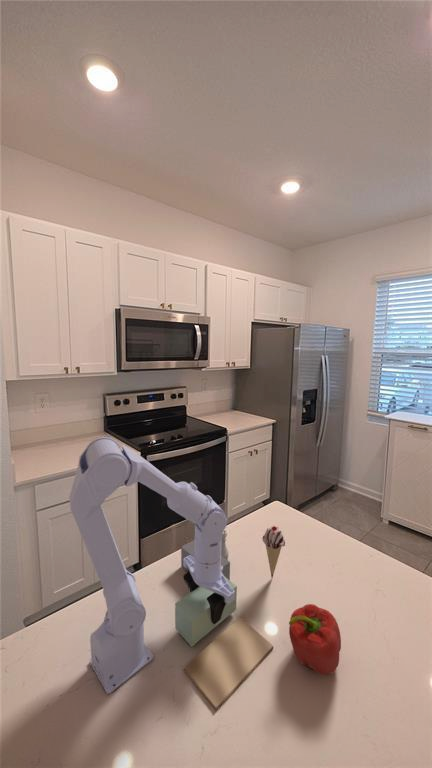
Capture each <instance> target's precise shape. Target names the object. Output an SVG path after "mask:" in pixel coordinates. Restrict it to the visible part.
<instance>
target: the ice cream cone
mask: <svg viewBox="0 0 432 768" xmlns="http://www.w3.org/2000/svg"><path fill="white" fill-rule="evenodd" d="M262 542H263V543H264V544H265V549H266V553H267V559H268V560H267V561H268V565H269V570H270V576H271V579H273V577H274V574H275V569H276V567H277V565H278V561H279V557H280V554H281V549H282V547H285V546H286V539H285V537H284V535H283V533H282V531H281V529H279V527H277V526H275V525H273V526H271V527H268V528H266V531H265V533H264V535H263V536H262Z"/></svg>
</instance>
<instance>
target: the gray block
mask: <svg viewBox="0 0 432 768" xmlns="http://www.w3.org/2000/svg"><path fill="white" fill-rule="evenodd" d="M180 548H181V549H180V551H181V552H180V553H181V554H180V555H181V557H180V559H181V561H180V562H181V563H180V566H181V568H182V569H183V570H184V571H186V573H187V572H188V568H185V567H184V566H183V559H184V558H185V557H187V556H189V555H191V556H192V557H194V555H195V538H193V540H191V541H190V542H188V543H186V544H184V545H182V546H180ZM221 566H222V567H223V571H222V574H223V575H224V576H225V577H226V578H227V579H228V580H230V579H231V578H230V577H231V561H229V560H228V558H227V559H225V558H224V557H222V556H221ZM230 581H231V580H230Z"/></svg>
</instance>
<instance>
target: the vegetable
mask: <svg viewBox="0 0 432 768" xmlns="http://www.w3.org/2000/svg"><path fill="white" fill-rule="evenodd" d="M289 619H290V620H289V622H288V625H289V628H288V629H289V630H288V635H289V638H290V643H291V646H292V649H293V653H294V654H295V655H294V656H295V657H296V659H297V660H298V662H299V663H301V664H302V665H303V666H305V667H306V666H307V667H308V666H309V667H310V668H311V669H312V671H313V670H314V671H315V672H316V673H317V674H320V675H329V674H333V673H334V672H335V671H336V670H337V668H338V667H339V663H340V652H341V650H342V649H341V648H342V638H341V631H340V627H339V624H338V621H337V619H336V618H335V617H334V615H333V614H332V612H330V611H329V610H327V609H325V608H322V607H319V606H317V605H316V604H312V603H307V604H305V605H303V606H301V607H299V608H297V609H295V610H294V611H293V612H292V614H291V616H290V618H289Z"/></svg>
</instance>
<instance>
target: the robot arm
mask: <svg viewBox="0 0 432 768" xmlns="http://www.w3.org/2000/svg"><path fill="white" fill-rule="evenodd" d="M120 446H121V447H120ZM121 448H122V450H121ZM74 475H75V476H74V478H73V479H74V480H73V483H72V486H71V490H70V492H69V505H70V510H71V513H72V516H73V518H74V520H75V523H76V525H77V527H78V530H79V532H80V536H81V537H82V541H83V542H84V545H85V547H86V550H87V552H88V555H89V557H90V560H91V561H92V564H93V567H94V570H95V572H96V574H97V578H98V579H99V582H100V584H101V587H102V589H103V590H102V594H103V597H104V599H105V604H106V612H105V616H104V618H103V619H104V620H103V621H102V623H101V624H100V625H99V627H98V628H97V629H96V630H94V631H93V632H91V634H90V637H89V640H90V642H89V643H90V657H91V658H90V659H89V663H90V665H91V667H92V668H93V670H94V673H95V675H96V676H97V678H98V680H99V682H100V683H102V684H101V685H102V687H103V689H104V691H105V693H106V694H108V693H109V694H112V692H114V690H115V691H116V689H117V688H118V687H120V686H121V685H122V684H123V683H125V682H126V681H128V679H130V678H131V677H133V676H134V675H135V674H136V673H138V672H139V671H140V670H142V668H143V667H145V666H146V665H148V664H149V663H150V662H151V661H152V660H154V655H153V653H152V652H151V651H150V650H149V648H148V647H147V645H146V644H145V634H144V633H145V628H144V627H145V625H144V622H145V620H146V616H147V612H146V611H147V610H146V607H145V606H144V604H143V601H142V598H141V595H140V592H139V590H138V587H137V583H136V578H135V576H134V574H133V573H131V572H130V571H128V570H127V568H126V566H125V564H124V562H123V559H122V556H121V554H120V551H119V549H118V546H117V542H116V540H115V537H114V535H113V532H112V530H111V527H110V525H109V522H108V519H107V517H106V513H105V512H104V508H103V506H102V505H103V504H104V501H106V499H107V498H109V497H110V496H111V495H112V494H113V493H114V492H115V491H117V490H118V489H119V488H120V487H121V486H122V485H123V484H124V486H125V487H131V485H134V484H136V483H140V484H142V485H143V486H145V487H147V488H149V489H150V490H152V491H154V492H156V493H157V494H159V495H160V496H162V497H164V498H166V503H167V507H168V508H169V509H170V510H172V511H174V512H175V514H178V515H179V516H181V517H183V518H184V519H186V520H187V521H189V522H190V523H192V524H194V539H195V555H194V557H192V556H191V555H189V556H187V557H185V558H184V559H183V566H184V567H185V568H188V572H187V571H186V573H185V574H184V575H183V581H185V584H186V586H187V588H188V590H189V593H191V592H192V591H194V590H195V589H196V588H198V587H199V586H200V587H203V588H205V589H208V590H210V591H212V592H214V593H213V594H211V595H210V596H209V597H207V601H208V603H209V605H210V610H211V621H212V623H213V624H216V623H217V622H218V621H219V620H220V619H221V616H222V613H223V610H224V607H225V605H226V604H228V605H229V604H230V603H231V602H232V601H233V600H235V591H234V590H233V589H232V588H231V587H230V585H229V584H228V582H227V580H226V579H225V577H224V575H223V574H222V571H223V567H222V566H221V544H222V533H223V531H224V530H226V527H228V526H227V525H228V522H229V519H228V518H227V515H226V513H225V511H224V509H222V508H221V507H220V505H218V504H217V503H216V502H215V500H213V498H212V497H211V496H210V495H208V494H207V495H205V494H204V493H202V492H200V491H199V490H198V486H197V485H196V484H195V483H193V482H192V481H191V482H189V483H188V482H187V481H179V482H175V481H174V480H173V479H171V478H170V477H169V476H167V475H166V474H165V473H163V472H162V471H161V470H159V469H158V468H157V467H155V466H154V465H153V464H152V463H151V462H149V461H148V460H146V459H145V458H144V457H143V456H142V455H140V454H138V453H137V452H135V451H133V450H132V449H131V448H129V447H127V446H125V445H123V444H121V445H119V443H118V442H117V441H116V440H115V439H113V438H112V437H109V436H108V437H107V436H102V437H98V438H95V439H94V440H91V442H89V444H87V446H86V448H85V449H84V450H83V452H81V454H80V456H79V459H78V463H77V469H76V472H75V474H74Z"/></svg>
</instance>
